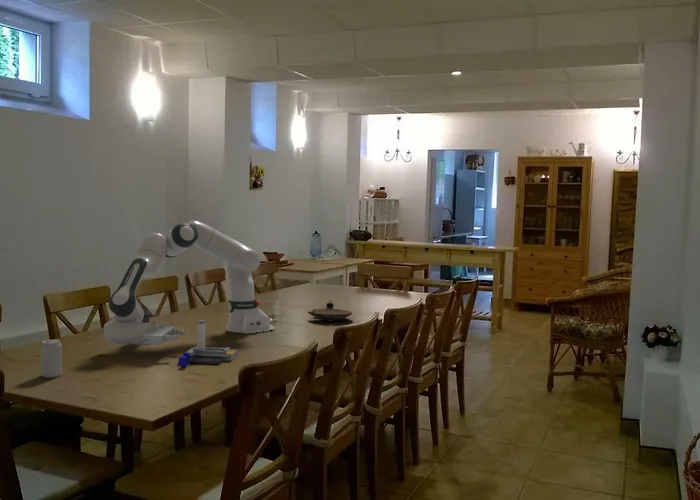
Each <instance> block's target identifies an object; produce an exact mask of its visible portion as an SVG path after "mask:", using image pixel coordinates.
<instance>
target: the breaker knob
mask: <svg viewBox="0 0 700 500" xmlns="http://www.w3.org/2000/svg"><path fill="white" fill-rule="evenodd" d="M196 323H197V325H196V346H197V350H205V346H206V319H204V320H202V319H198V320H197V321H196Z"/></svg>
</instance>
